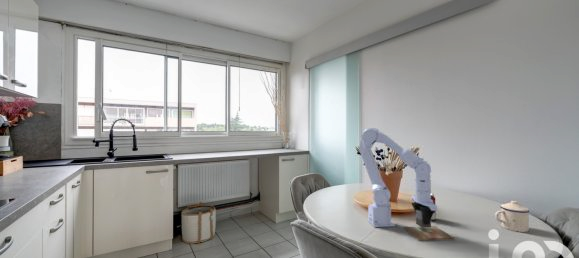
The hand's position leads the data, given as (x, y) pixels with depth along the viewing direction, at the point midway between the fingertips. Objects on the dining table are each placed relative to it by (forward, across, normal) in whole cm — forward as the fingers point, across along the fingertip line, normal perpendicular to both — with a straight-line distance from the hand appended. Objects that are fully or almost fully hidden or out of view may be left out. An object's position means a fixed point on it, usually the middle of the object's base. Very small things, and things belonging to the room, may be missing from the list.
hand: (423, 222), depth 100 cm
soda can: (+4, +13, -10) cm, 17 cm away
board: (+4, -3, 0) cm, 5 cm away
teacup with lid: (+4, 0, -40) cm, 40 cm away
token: (+1, 0, 0) cm, 1 cm away
